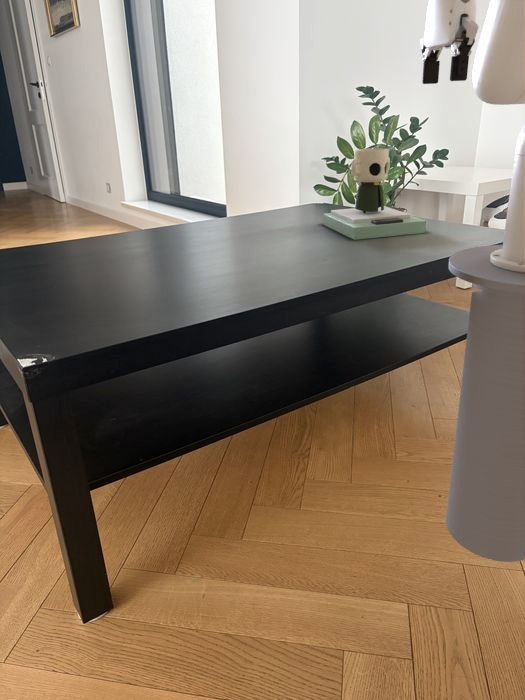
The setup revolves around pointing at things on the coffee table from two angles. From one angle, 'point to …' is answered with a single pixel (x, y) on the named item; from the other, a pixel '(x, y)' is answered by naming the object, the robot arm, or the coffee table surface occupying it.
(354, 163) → the character mug
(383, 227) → the scale
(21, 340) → the coffee table surface
